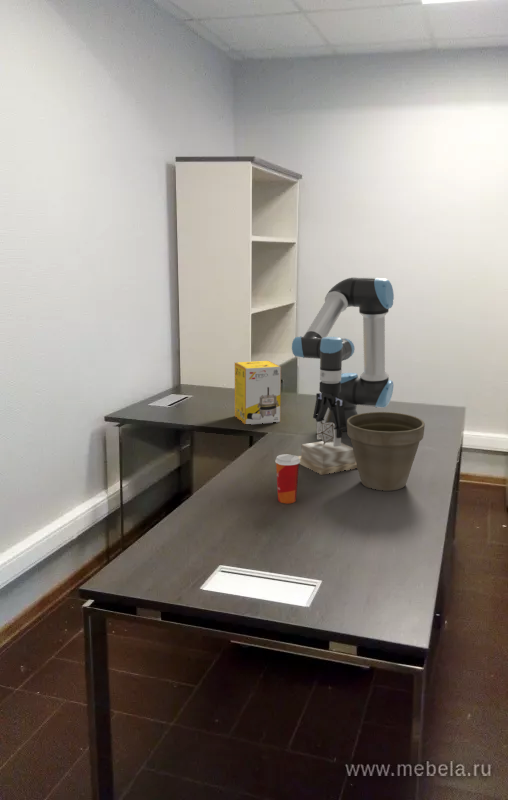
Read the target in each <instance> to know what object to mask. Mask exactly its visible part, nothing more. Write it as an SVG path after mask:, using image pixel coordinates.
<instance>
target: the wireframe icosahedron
mask: <svg viewBox="0 0 508 800" xmlns="http://www.w3.org/2000/svg"><path fill="white" fill-rule="evenodd" d="M321 423H322V422H321ZM334 428H335V424H334V421H333V422H330V423H322V425H321V427H320V429H319V432H318V434H317V433H315V436H317V435H319V437H320V438H321V439H320V440H322V441H323V442H324V444H325V443H329V442H333V441H334Z"/></svg>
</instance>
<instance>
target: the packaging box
mask: <svg viewBox="0 0 508 800" xmlns="http://www.w3.org/2000/svg"><path fill="white" fill-rule="evenodd" d="M281 380H282V366H280V365H279V364H276V363H274V362H272V361H269V360H260V361H259V360H258V361H256V360H255V361H239V362H234V417H235V418H236V417H237V418H236V419H237V420H239V421H240V420H241V421H242V422H241V421H240V422H241V423H242V424H244V425H245V424H251V425H263V424H273V422H276V423H281V405H282V404H281V403H282V402H281V400H282V397H281V396H282V391H281V389H282V386H281V385H282V383H281V382H282V381H281ZM262 423H263V424H262Z"/></svg>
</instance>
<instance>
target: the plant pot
mask: <svg viewBox="0 0 508 800" xmlns="http://www.w3.org/2000/svg"><path fill="white" fill-rule="evenodd" d="M425 424H426V423H425V421H424V420H422V419H421V418H420V417H416V416H414V415H411V414H406V413H401V412H394V411H393V412H391V411H374V412H373V411H372V412H363V413H357V415H354V416H351V417H350V418H348V419H347V431H346V432H347V436H348V438H350V443H351V447H352V448H353V452H354V456H355V460H356V464H357V472H358V476H359V479H360V482H361V484H362V485H363V486H364V487H366V488H369V489H371V488H372V489H371V490H375V489H376V490H375V491H382V490H383V491H385V492H389V491H391V492H393V491H397V490H400V489H403V488H404V487H406V485H407V483H408V479H409V477H410V474H411V473H410V472H411V471H412V467H413V462H414V461H415V458H416V455H417V452H418V448H419V446H420V442H422V440H423V439H424V436H425V426H426V425H425Z"/></svg>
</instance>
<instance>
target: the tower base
mask: <svg viewBox="0 0 508 800" xmlns="http://www.w3.org/2000/svg"><path fill="white" fill-rule="evenodd" d="M300 453H301V455H297V456H298V457H299V460H300V463H299V465H300V466H303V467H305V468H306V469H308V468H309V470H310V469H311V471H312V470H313V472H314V473H316V472H317V474H318V473H319V475H321V476H325V475H328V474H329V473H330V474H335V473H338V472H339V473H340V471H341V472H345V471H344V470H346V471H350V469H351V470H356V469H355V468H357V464H356V460H355V456H354V452H353V448H352V446H349V445H347V444H345V443H343V442H341V446H337V447H334V446H333V442H329V443H325V444H324V442H323V440H322V441H316V442H310V443H309V442H308V443H303V444H301V452H300ZM357 469H358V468H357ZM334 472H335V473H334Z"/></svg>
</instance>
